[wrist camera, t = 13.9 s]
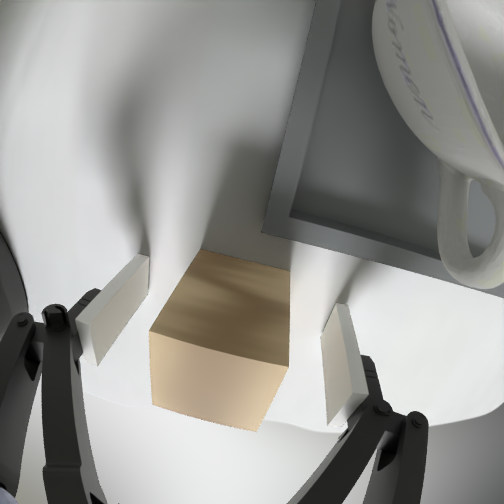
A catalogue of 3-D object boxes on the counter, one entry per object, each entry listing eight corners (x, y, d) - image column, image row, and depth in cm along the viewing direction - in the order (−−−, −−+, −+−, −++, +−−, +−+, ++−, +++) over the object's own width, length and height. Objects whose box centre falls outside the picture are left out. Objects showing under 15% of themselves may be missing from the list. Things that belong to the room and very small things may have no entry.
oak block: (191, 318, 18) (152, 404, 12) (200, 248, 16) (149, 330, 9) (267, 337, 18) (256, 431, 12) (289, 271, 16) (288, 367, 9)
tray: (264, 219, 15) (261, 232, 13) (332, -71, 7) (336, -87, 5) (523, 295, 14) (535, 307, 13) (576, 88, 6) (591, 90, 5)
